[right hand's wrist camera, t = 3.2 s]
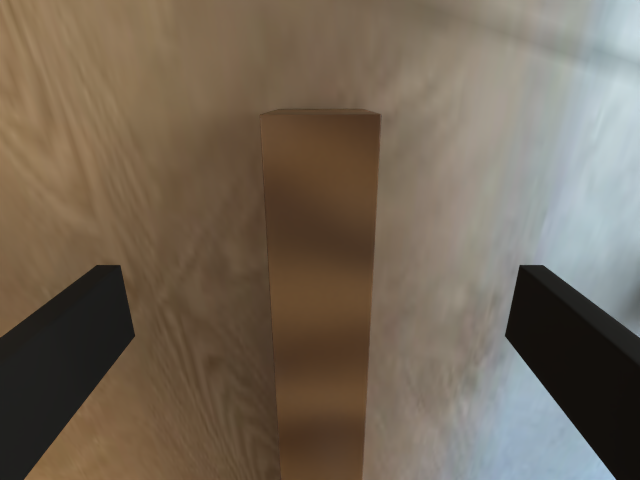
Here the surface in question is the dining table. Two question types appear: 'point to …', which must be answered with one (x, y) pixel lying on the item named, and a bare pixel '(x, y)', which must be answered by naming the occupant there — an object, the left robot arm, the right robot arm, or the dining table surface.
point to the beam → (321, 282)
